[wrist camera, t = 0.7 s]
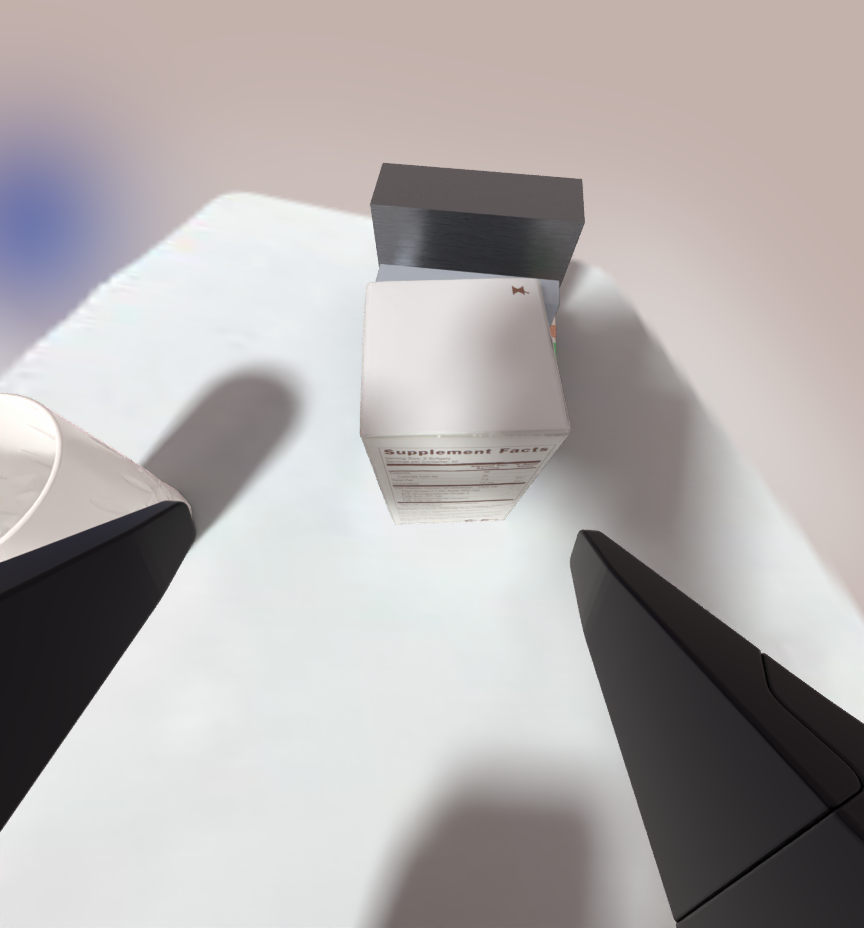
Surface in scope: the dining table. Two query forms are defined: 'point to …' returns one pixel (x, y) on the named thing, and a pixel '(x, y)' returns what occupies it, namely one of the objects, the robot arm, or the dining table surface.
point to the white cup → (62, 479)
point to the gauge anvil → (477, 221)
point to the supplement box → (458, 396)
